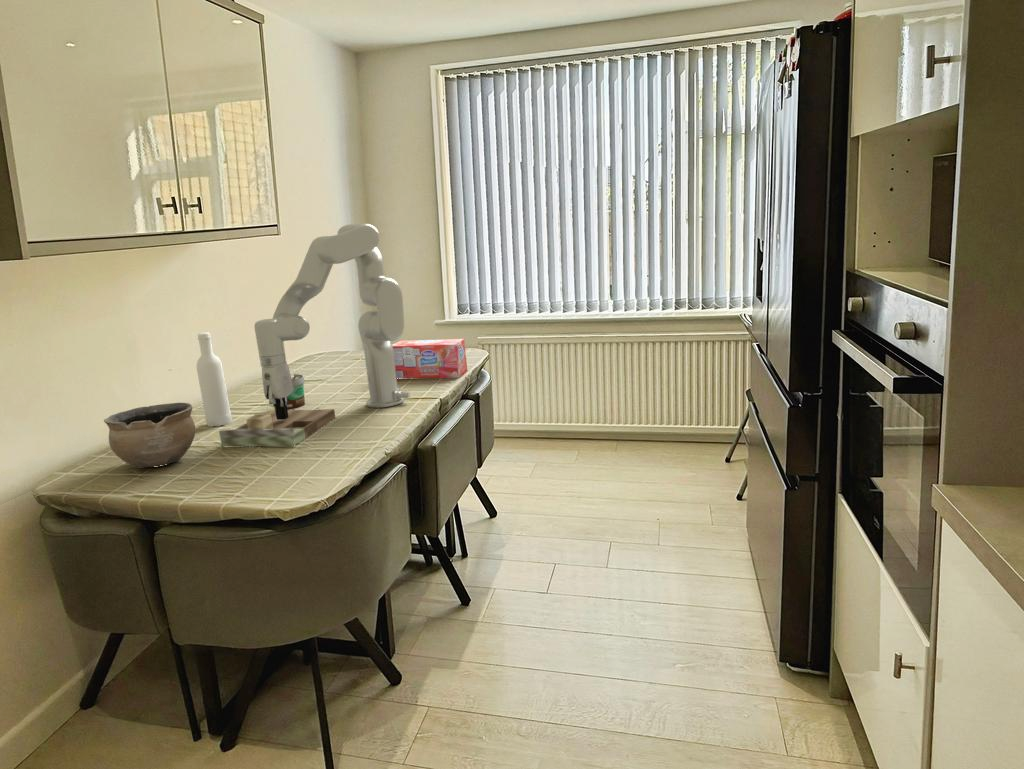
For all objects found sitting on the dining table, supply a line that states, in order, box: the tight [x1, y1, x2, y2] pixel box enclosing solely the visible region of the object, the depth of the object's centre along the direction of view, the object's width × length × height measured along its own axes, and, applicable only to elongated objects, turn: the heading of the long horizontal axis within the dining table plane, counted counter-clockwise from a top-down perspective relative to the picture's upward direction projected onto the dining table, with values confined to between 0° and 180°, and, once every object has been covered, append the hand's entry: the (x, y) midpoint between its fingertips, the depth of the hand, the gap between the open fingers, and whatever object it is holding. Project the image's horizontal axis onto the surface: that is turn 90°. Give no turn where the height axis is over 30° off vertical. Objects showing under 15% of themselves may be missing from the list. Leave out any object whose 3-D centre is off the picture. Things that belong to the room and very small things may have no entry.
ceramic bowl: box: [103, 402, 196, 468], centre depth 208 cm, size 22×22×15 cm
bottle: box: [196, 331, 233, 427], centre depth 243 cm, size 8×8×30 cm
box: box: [391, 338, 468, 380], centre depth 291 cm, size 27×13×14 cm, turn 78°
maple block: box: [245, 413, 273, 429], centre depth 219 cm, size 5×5×5 cm
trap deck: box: [219, 408, 336, 448], centre depth 230 cm, size 23×28×5 cm
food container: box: [287, 373, 306, 410], centre depth 261 cm, size 12×6×10 cm, turn 168°
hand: (282, 418), depth 231 cm, fingers closed
